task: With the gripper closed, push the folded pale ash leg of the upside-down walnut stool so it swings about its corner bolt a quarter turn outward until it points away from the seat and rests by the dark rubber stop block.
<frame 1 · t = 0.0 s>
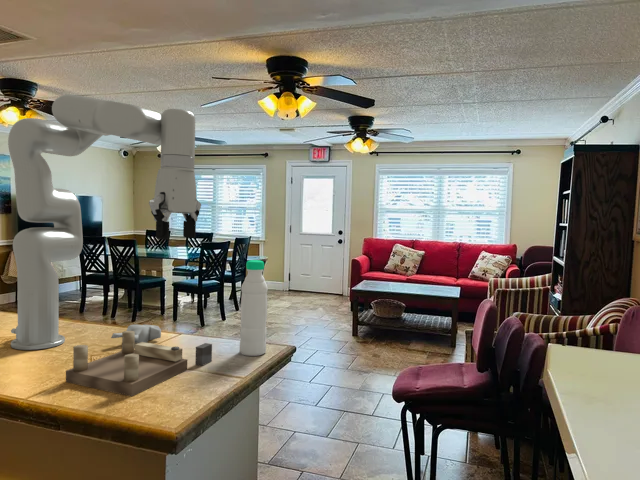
hand: (176, 238, 110), 31 cm above the counter, tool pointing down, fingers open, 9 cm apart
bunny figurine: (139, 343, 133), on the counter
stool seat: (129, 375, 107), on the counter
water bottle: (252, 353, 127), on the counter
hinged leg: (158, 350, 112), point 4 cm above the counter, hinge at 0.0°
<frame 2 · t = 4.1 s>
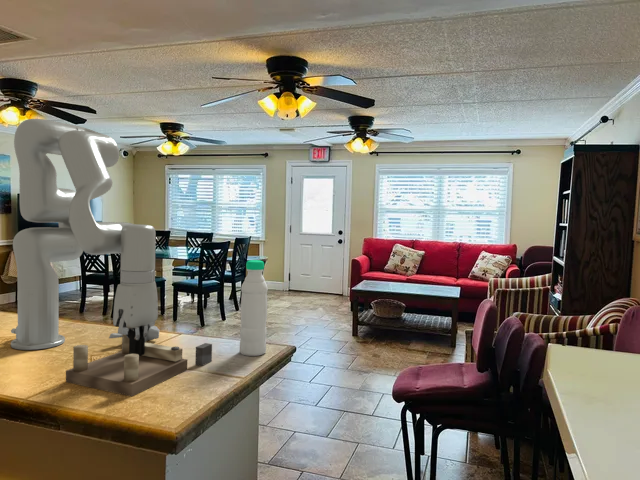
hand: (136, 354, 111), 3 cm above the counter, tool pointing down, fingers closed
hinged leg: (158, 350, 112), point 4 cm above the counter, hinge at 0.2°, touching gripper
everything else where it was.
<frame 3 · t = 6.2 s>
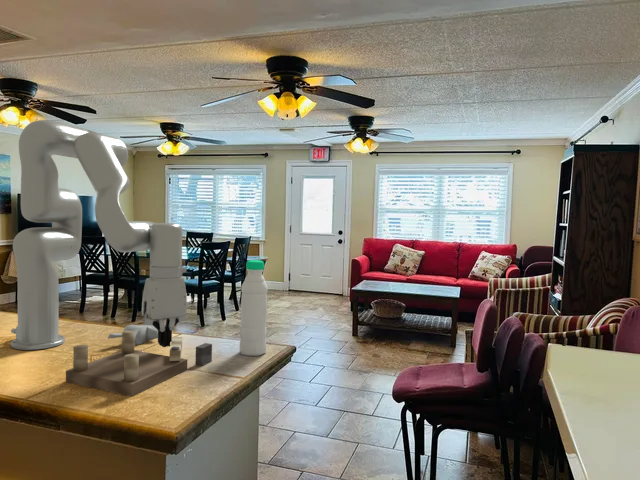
hand: (164, 345, 118), 4 cm above the counter, tool pointing down, fingers closed
hinged leg: (176, 347, 115), point 4 cm above the counter, hinge at 54.6°, touching gripper
everything else where it was.
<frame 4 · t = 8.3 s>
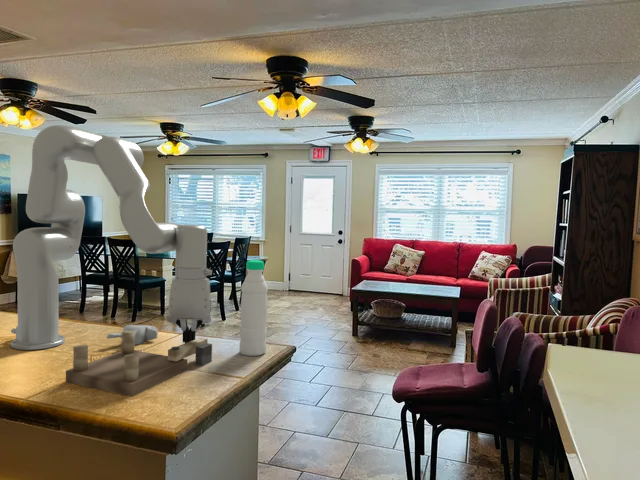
hand: (188, 345, 120), 4 cm above the counter, tool pointing down, fingers closed
hinged leg: (188, 348, 115), point 4 cm above the counter, hinge at 91.2°, touching gripper, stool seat
everything else where it was.
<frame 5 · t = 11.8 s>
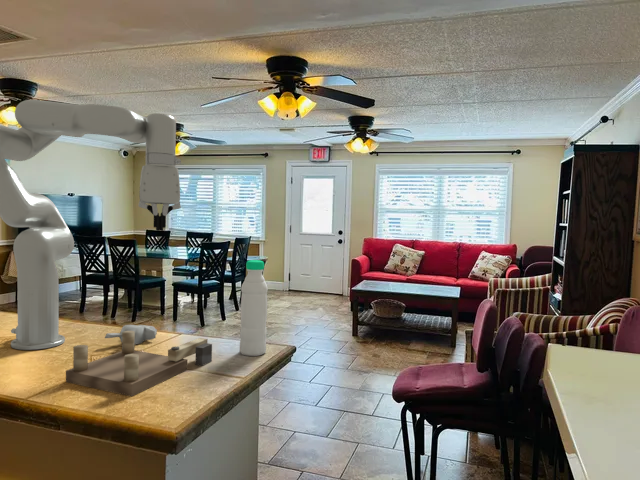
hand: (159, 230, 127), 32 cm above the counter, tool pointing down, fingers closed
hinged leg: (188, 348, 115), point 4 cm above the counter, hinge at 91.1°
at the end: hinged leg at +91° (first picture: +0°); the gripper is holding nothing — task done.
